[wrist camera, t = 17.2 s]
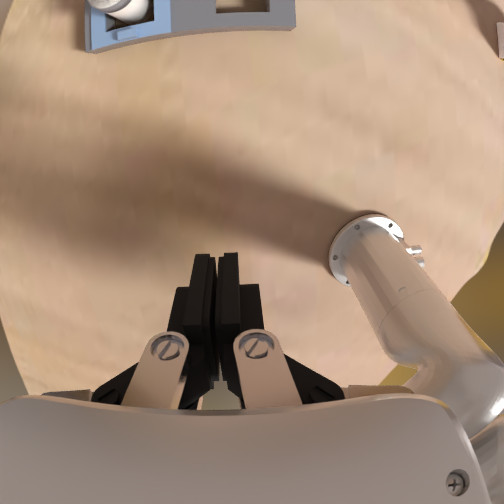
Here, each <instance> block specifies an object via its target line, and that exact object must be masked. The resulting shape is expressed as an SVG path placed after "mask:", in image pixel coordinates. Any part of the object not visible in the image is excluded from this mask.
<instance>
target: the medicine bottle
mask: <svg viewBox="0 0 504 504" xmlns="http://www.w3.org/2000/svg"><path fill="white" fill-rule="evenodd" d="M497 34H498V48H499V58H500V59H501V60H503V61H504V22H497Z"/></svg>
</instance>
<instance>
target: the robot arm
mask: <svg viewBox="0 0 504 504" xmlns="http://www.w3.org/2000/svg"><path fill="white" fill-rule="evenodd" d="M421 251H422V249H421V246H419V245H417V246H410V247H409V246H408V245H407V244H406V243H405V242H404V236H403V233H402V230H401V229H400V227H399V226H398V225H397V224H396V223H395V222H394V221H393V220H392V219H391V218H389V217H387V216H384V215H380V214H369V215H364V216H361V217H359V218H356V219H354V220H353V221H351V222H349V223H348V224H347V225H346V226H344V227H343V228H342V229H341V230H340V232H339V233H338V234H337V235H336V237H335V238H334V240H333V242H332V244H331V247H330V250H329V256H328V258H329V266H330V269H331V271H332V273H333V275H334V277H335V278H336V279H337V280H338V281H339V282H340V283H342V284H344V285H346V286H349V287H352V289H353V291H354V293H355V295H356V297H357V298H358V300H359V302H360V304H361V306H362V308H363V310H364V312H365V314H366V316H367V318H368V320H369V322H370V324H371V326H372V328H373V330H374V332H375V334H376V336H377V338H378V340H379V342H380V344H381V346H382V348H383V350H384V352H385V353H386V355H387V356H388V357H389V358H390V359H391V360H393V361H394V362H396V363H398V364H400V365H403V366H407V367H410V368H416V369H418V371H417V373H416V374H415V375H414V376H413V377H412V378H411V379H409V380H408V381H407V382H406V383H405V384H404V385H403V386H366V385H349V386H348V388H340V386H338V385H337V384H336V383H334V382H332V381H331V380H329V379H327V378H325V377H323V376H322V375H320V374H318V373H316V372H315V371H313V370H311V369H309V368H307V367H306V366H304V365H302V364H301V363H299V362H297V361H295V360H294V359H292V358H290V357H289V356H287V355H285V354H283V351H282V348H281V346H280V343H279V341H278V339H277V337H276V336H275V335H273V334H272V333H271V332H268V331H266V330H264V323H263V315H262V307H261V299H260V290H259V284H244V285H240V284H239V266H238V252H236V253H224V257H219V262H218V276H217V272H216V262H215V257H210V254H196V255H195V259H194V264H193V269H192V275H191V280H190V285H189V287H177V289H176V293H175V297H174V301H173V306H172V310H171V314H170V319H169V324H168V328H167V332H163V333H160V334H157V335H155V336H154V337H153V338H151V339H150V340H149V342H148V343H147V345H146V347H145V350H144V352H143V354H142V356H141V359H140V361H139V362H138V363H136V364H135V365H133V366H132V367H130V368H128V369H127V370H125V371H124V372H122V373H121V374H119V375H117V376H116V377H114V378H113V379H111V380H110V381H108V382H106V383H105V384H103V385H102V386H100V387H99V388H98V389H96V390H95V392H91V390H90V389H88V390H75V391H60V392H47V393H43V394H42V395H25V396H19V397H14V398H10V399H7V400H5V401H3V402H1V403H0V504H504V414H500V412H501V411H502V410H503V408H504V364H503V363H502V362H501V360H500V359H499V358H498V357H497V355H496V354H495V353H494V352H493V351H492V350H491V349H490V348H489V347H488V346H487V345H486V344H485V343H484V342H483V341H482V340H481V339H480V338H479V337H478V336H477V335H476V334H475V332H474V331H473V330H472V329H471V328H470V327H469V326H468V325H467V323H466V322H465V321H464V320H463V319H462V317H461V316H460V315H459V313H458V312H457V311H456V310H455V308H453V306H452V305H451V303H450V302H449V301H448V300H447V298H446V297H445V296H444V294H443V293H442V292H441V291H440V289H439V288H438V287H437V286H436V284H435V283H434V282H433V281H432V279H431V278H430V277H429V276H428V275H427V273H426V272H425V271H424V270H423V267H424V259H423V257H412V256H411V255H412V254H413V255H417V254H421ZM220 363H221V370H222V376H223V381H227V385H228V389H229V390H230V391H231V392H232V393H234V394H235V395H236V396H238V397H239V403H240V407H241V409H240V410H201V407H202V403H203V395H204V394H205V393H206V392H208V391H209V390H210V389H214V381H219V364H220ZM499 414H500V415H499Z"/></svg>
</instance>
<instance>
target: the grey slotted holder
mask: <svg viewBox="0 0 504 504" xmlns="http://www.w3.org/2000/svg"><path fill="white" fill-rule="evenodd" d="M295 27H296V14H295V0H266V12H236V13H218V14H216V0H154V21H151V22H146V23H141V24H137V25H132V26H128V27H124V28H120V29H116V30H115V17H113V16H111V15H109V14H107V13H105V12H102V11H100V10H98V9H96V8H93V7H92V6H91V5H90V4H89V3H88V0H85V51H86V53H93V54H97V53H101V52H104V51H108V50H112V49H116V48H120V47H124V46H128V45H133V44H137V43H142V42H147V41H152V40H158V39H164V38H170V37H177V36H184V35H192V34H201V33H212V32H226V31H251V30H275V31H291V30H292V29H294V28H295Z"/></svg>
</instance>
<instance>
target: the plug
mask: <svg viewBox="0 0 504 504" xmlns="http://www.w3.org/2000/svg"><path fill="white" fill-rule="evenodd" d="M88 3H89V4H90V5H91V6H92V7H93V8H96V9H98V10H100V11H102V12H105V13H107V14H109V15H111V16H113V17H115V18H117V19H119V20H121V21H123V22H125V23H127V24H129V25H137V24H141V23H144V22H145V21H147V20H148V19H149V18H150V17H151V15H152V13H153V10H154V5H153V2H152V1H151V0H88Z"/></svg>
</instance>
